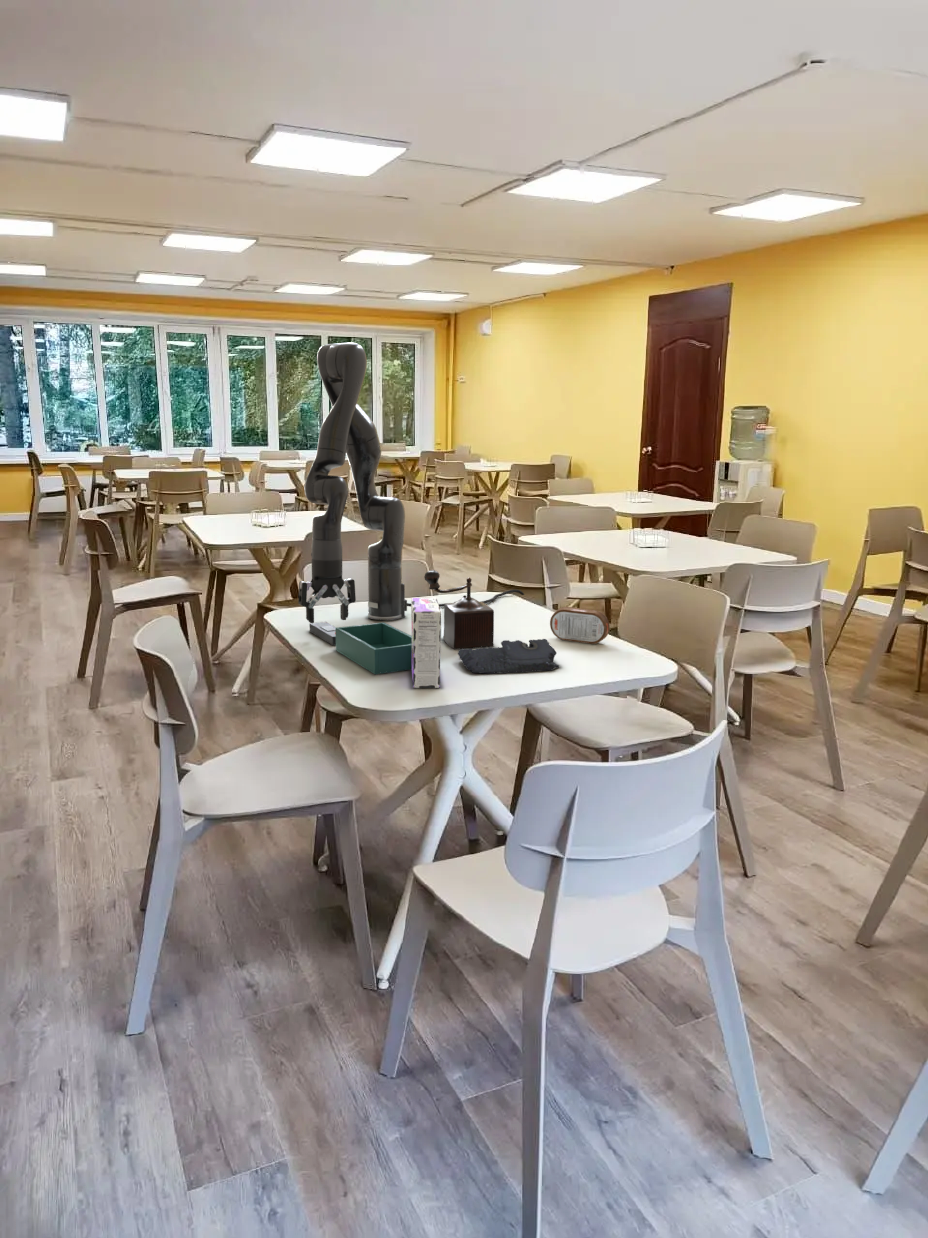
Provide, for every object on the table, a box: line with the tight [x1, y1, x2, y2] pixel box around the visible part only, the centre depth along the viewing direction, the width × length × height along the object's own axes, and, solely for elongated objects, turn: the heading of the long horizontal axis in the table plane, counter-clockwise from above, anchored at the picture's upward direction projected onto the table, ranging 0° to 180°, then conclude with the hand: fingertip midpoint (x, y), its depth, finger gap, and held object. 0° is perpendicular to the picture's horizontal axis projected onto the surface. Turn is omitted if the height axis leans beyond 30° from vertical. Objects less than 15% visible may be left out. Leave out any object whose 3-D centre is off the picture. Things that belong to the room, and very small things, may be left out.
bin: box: [335, 621, 412, 675], centre depth 204 cm, size 13×23×6 cm, turn 30°
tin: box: [549, 606, 611, 645], centre depth 222 cm, size 15×3×8 cm, turn 65°
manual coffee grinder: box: [423, 569, 495, 650], centre depth 217 cm, size 16×11×18 cm
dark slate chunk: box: [457, 638, 560, 675], centre depth 201 cm, size 15×22×5 cm
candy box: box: [410, 597, 442, 689], centre depth 188 cm, size 14×6×16 cm, turn 5°
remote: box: [309, 621, 337, 646], centre depth 223 cm, size 4×16×2 cm, turn 30°
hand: (327, 621), depth 222 cm, fingers open, 8 cm apart
